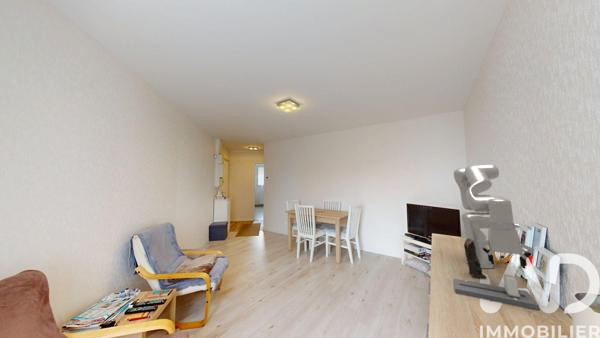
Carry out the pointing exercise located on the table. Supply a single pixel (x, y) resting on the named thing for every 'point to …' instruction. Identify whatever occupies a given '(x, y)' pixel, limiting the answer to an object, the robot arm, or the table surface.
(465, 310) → the table surface
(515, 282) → the fader
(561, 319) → the table surface
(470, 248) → the statue
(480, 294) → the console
